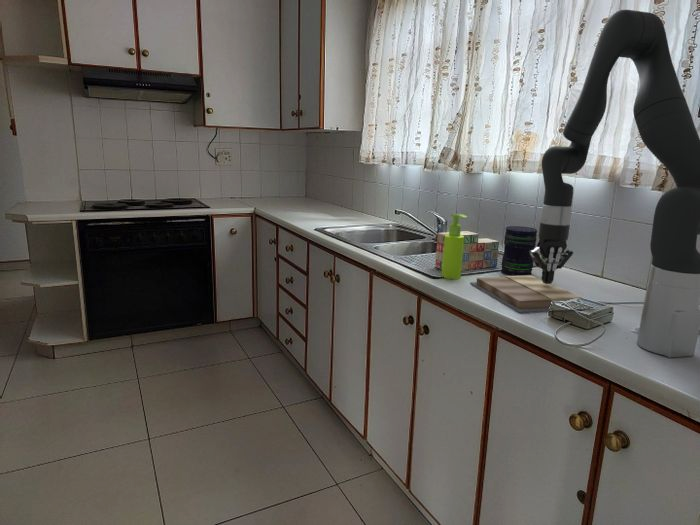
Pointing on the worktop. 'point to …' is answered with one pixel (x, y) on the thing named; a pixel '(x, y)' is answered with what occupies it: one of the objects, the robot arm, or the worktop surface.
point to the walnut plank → (513, 292)
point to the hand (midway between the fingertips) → (546, 283)
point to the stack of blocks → (471, 251)
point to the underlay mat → (523, 310)
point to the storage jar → (518, 250)
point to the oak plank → (543, 288)
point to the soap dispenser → (453, 250)
